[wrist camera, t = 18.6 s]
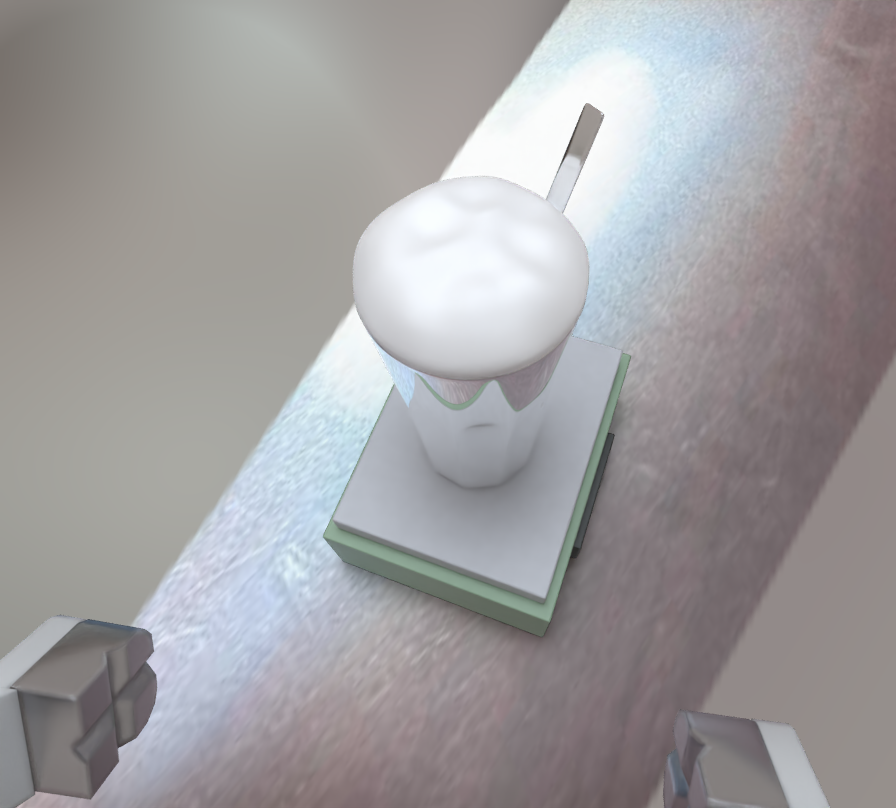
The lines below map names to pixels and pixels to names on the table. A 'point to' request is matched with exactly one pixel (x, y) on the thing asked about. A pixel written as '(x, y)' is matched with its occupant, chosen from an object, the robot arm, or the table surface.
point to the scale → (486, 502)
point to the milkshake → (476, 309)
